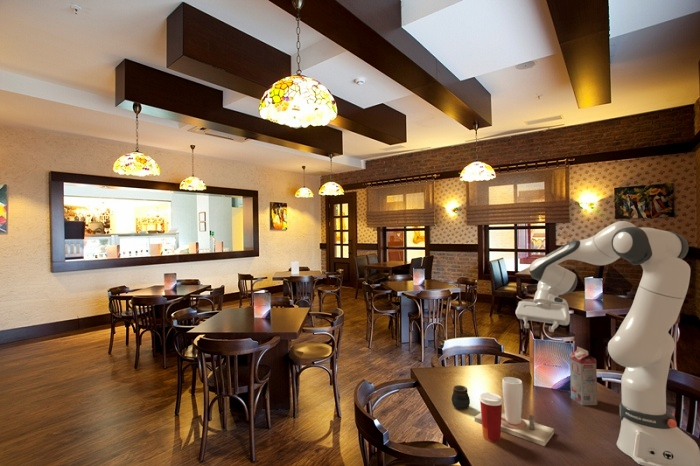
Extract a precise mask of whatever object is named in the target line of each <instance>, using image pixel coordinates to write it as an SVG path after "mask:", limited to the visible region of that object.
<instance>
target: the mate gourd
mask: <svg viewBox="0 0 700 466" xmlns="http://www.w3.org/2000/svg"><path fill="white" fill-rule="evenodd" d="M452 388H453V391H452V393H451V404H452V406H453V407H454V408H455V409H457V410H460V411H464V410H467V409H469V407H470V405H471V399H470V396H469V393H468V392H469V391H468V387H467V386H465V385H461V384H459V385H458V384H457V385H454V386H453V387H452Z"/></svg>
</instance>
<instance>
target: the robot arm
mask: <svg viewBox="0 0 700 466" xmlns="http://www.w3.org/2000/svg"><path fill="white" fill-rule="evenodd" d="M688 252H689V243H688V241H687V238H685V237H684V236H683V235H681V234H680V233H677V232H675V231H671V230H662V229H657V228H653V227H638V226H636V225H635V224H633V223H631V222H629V221H625V220H618V221H615V222H614V223H612V224H610V225H608V226H606V227H604V228H602V229H601V230H600V231H599V232H597V233H596V234H594V235H593V236H591V237H587V238H585V239H578V240H577V239H576V240H572V241H569V242H567V243H565V244H564V245H562V246H559V247H557V248H556V249H554V250H553V251H551V252H549V253H547V254H546V255H543V256H540V257H538V258H536V259H534V260H533V261H532V262H531V264H530V265H529V267H528V271H529V274H530V277H531V279H533V280H536V281H537V282H538V283H537V286H536V288H537V290H536V291H535V293H534V297H533V300H529V299H528V300H527V299H522V300H520V301H518V303H517V307H516V309H515V315H516V317H517V319H518V320H523V322H524V324H523V327H524V329H529V328H530V324H529V322H528V321H532V322H539V323H544V324H552V325H549V326H548V332H549V333H554V331H555V329H557V328H558V327H559V325H561V326H568V325H570V323H571V322H570V320H571V314H570V307H569V304H568V302H567V300H566V299H565V298H562V297H559V296H562V295H566V294H570V293H573V291H574V290H575V289H576V287H577V284H578V276H577V274H576V273H574V272H573V271H571V270H570V269H568V268H565V267H563V266H561V265H559V264H561V263H562V262H564V261H567V260H570V261H571V260H573V261H579V262H584V263H586V264H587V263H588V264H590V265H594V266H606V265H609V264H612V263H614V262H616V261H617V260H619V259H621V258H622V259H624V260H625V261H627V262H629V263H630V264H631V265H633V266H639V265H640V266H641V269H642V270H643V271H642V277H641V279H640V282H639V285H638V287H637V290H636V293H635V296H634V299H633V302H632V305H631V306H630V309H629V311H628V313H627V314H626V316H625V318H624V319H623V321H622V322H621V324H620V325H619V328H618V329H617V331H616V333H615V334H614V335H613V336H612V338H611V339H610V340H609V341H608V343H607V351H608V354H609V356H610V357H611V359H612V360H613V361H614V362H615V363H616V364H618V365H619V366H622V367H623V368H625V369H624V372H623V373H622V375H621V379H620V383H621V386H620V387H621V389H620V391H621V401H620V403H619V416H620V420H621V421H620V422H621V423H620V428H619V435H618V438H617V441H616V446H617V448H618V449H619V450H620V451H621V452H623V453H624V454H625V455H627V456H629V457H631V458H632V460H634V462H636V463H637V464H638V465H641V466H700V447H699V446H698V443H697V442H696V440H694V439H693V438H692V437H691V436H689V435H688V434H687V433H685V432H684V431H682V429H680V428H679V427H677V421H676V417H675V414H674V413H673V412H672V413H670V412H669V411H668V410H667V392H666V391H667V381H668V375H669V372H670V365H671V360H672V356H673V353H674V351H675V348H676V343H675V339H674V338H673V336H672V335H671V334H670V333H669V331H670V330H671V328H672V327H673V326H674V325H675V324H676V322H677V320H678V317H679V315H680V312H681V310H682V306H683V304H684V301H685V298H686V295H687V293H688V289H689V285H690V278H691V267H690V265H689V263H687V261H685V260H683V259H684V258H685V257H686V256H687V255H688Z"/></svg>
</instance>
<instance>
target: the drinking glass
mask: <svg viewBox="0 0 700 466" xmlns="http://www.w3.org/2000/svg"><path fill="white" fill-rule="evenodd" d="M501 381H502V383H501V384H502V385H501V386H502V388H501V389H502V398H503V399H502V401H503V408H504V413H505V420H506V421H507V422H508V423H510V424H513V425H518V424H520V423H521V418H522V409H523V408H522V407H523V393H524V392H523V391H524V390H523V381H522V380H521V379H520V378H516V377H512V376H505V377H503V378H502V379H501Z"/></svg>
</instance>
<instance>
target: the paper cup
mask: <svg viewBox="0 0 700 466" xmlns="http://www.w3.org/2000/svg"><path fill="white" fill-rule="evenodd" d="M502 398H503V397H502V396H501V395H499V394H497V393H494V392H483V393H481V394H480V396H479V397H478V400H479V402H480V412H481V417H482V424H481V427H482V428H481V429H482V436H483V438H484V440H486V441H489V442H492V443H496V442H500V441H501V437H502V431H501V417H502V412H503V409H502V408H503V405H504V400H503V399H502Z"/></svg>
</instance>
